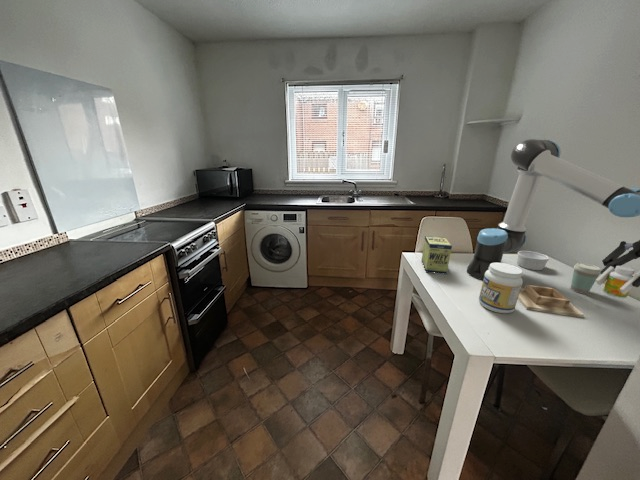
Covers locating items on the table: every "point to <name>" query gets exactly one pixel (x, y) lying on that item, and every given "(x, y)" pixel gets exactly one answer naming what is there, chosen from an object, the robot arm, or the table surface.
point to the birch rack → (547, 301)
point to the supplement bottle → (618, 281)
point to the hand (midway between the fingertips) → (609, 286)
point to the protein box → (436, 254)
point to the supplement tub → (501, 287)
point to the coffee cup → (584, 277)
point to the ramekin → (532, 260)
